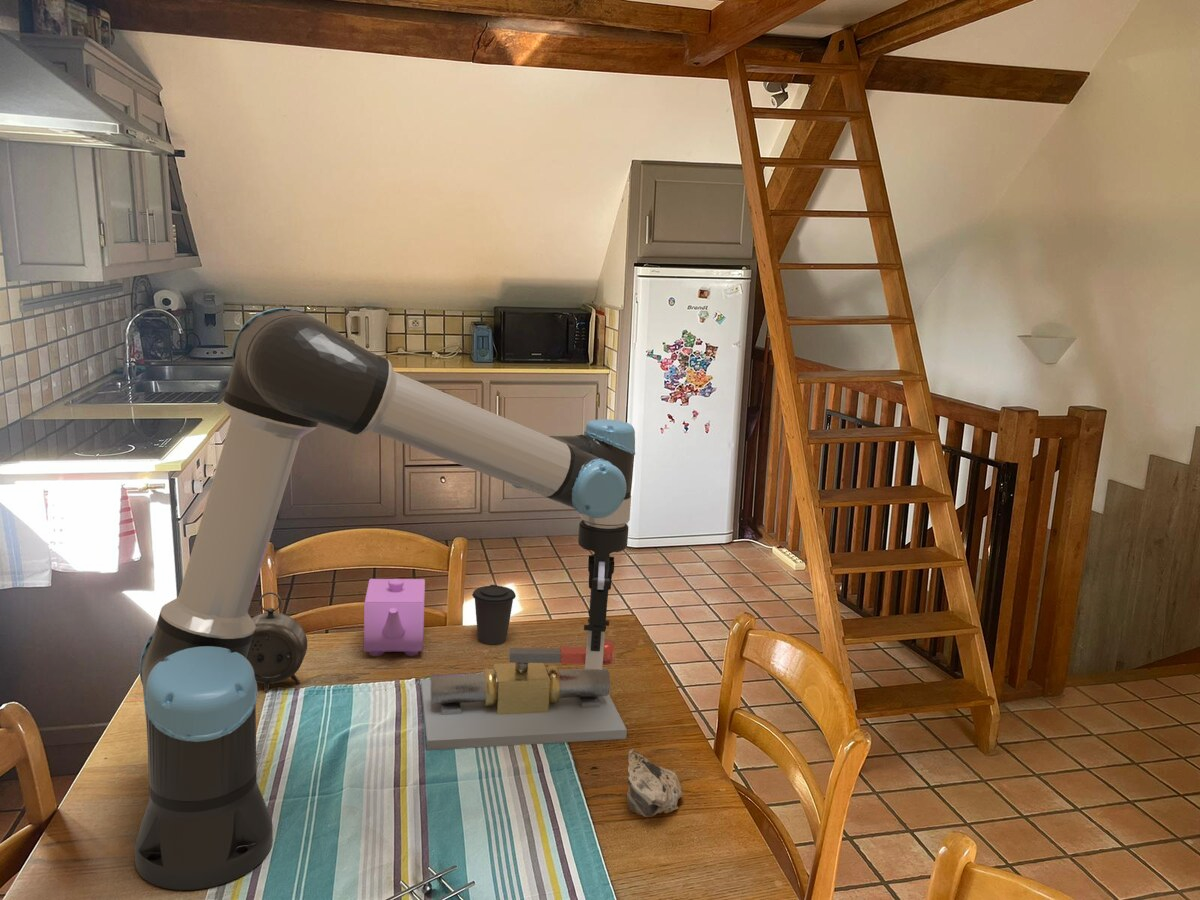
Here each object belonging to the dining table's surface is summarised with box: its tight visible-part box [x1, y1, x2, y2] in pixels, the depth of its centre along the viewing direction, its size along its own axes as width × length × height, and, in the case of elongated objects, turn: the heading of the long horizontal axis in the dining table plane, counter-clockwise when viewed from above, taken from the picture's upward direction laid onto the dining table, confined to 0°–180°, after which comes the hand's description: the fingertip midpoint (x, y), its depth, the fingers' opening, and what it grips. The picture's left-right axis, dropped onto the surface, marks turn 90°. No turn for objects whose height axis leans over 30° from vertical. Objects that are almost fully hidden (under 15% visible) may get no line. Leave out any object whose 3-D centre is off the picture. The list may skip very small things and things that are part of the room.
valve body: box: [430, 662, 611, 715], centre depth 151 cm, size 6×28×6 cm, turn 103°
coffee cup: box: [471, 584, 517, 646], centre depth 178 cm, size 8×8×10 cm
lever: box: [508, 638, 616, 673], centre depth 151 cm, size 16×3×5 cm, turn 97°
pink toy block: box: [363, 578, 426, 657], centre depth 171 cm, size 20×10×12 cm, turn 9°
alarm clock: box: [246, 591, 308, 693], centre depth 154 cm, size 11×5×16 cm, turn 96°
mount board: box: [420, 678, 628, 751], centre depth 152 cm, size 20×30×2 cm, turn 103°
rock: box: [626, 748, 684, 818], centre depth 129 cm, size 9×7×10 cm
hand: (593, 667), depth 150 cm, fingers closed
